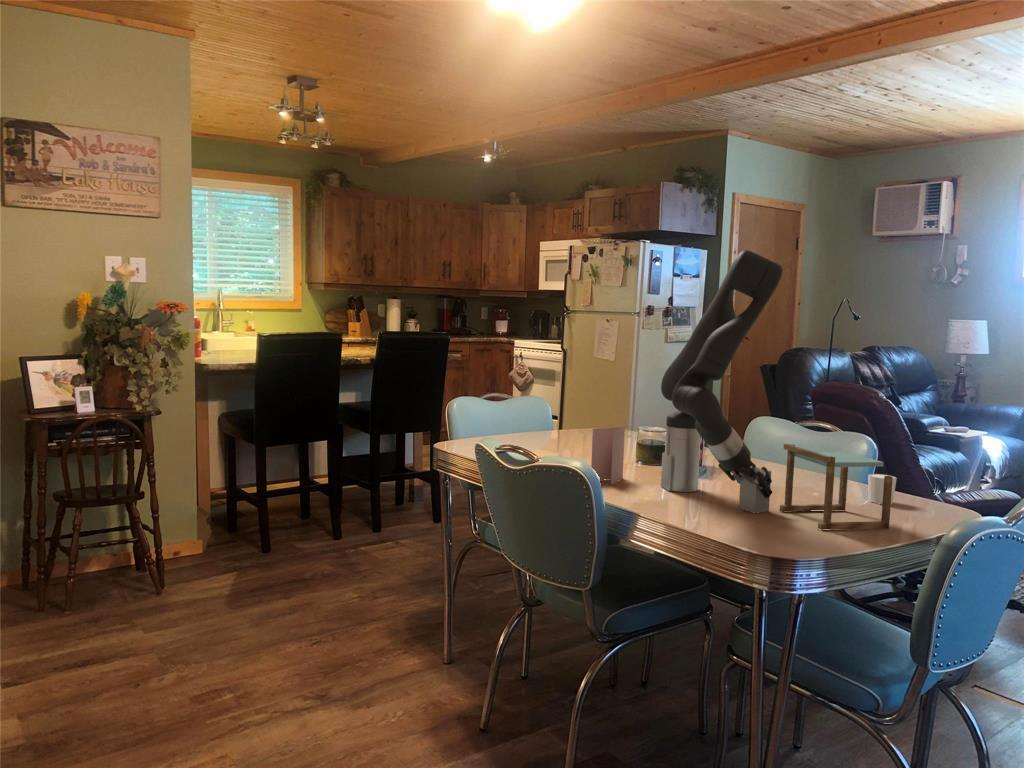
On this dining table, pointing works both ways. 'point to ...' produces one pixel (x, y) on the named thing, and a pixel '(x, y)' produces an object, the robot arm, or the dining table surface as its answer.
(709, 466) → the dining table surface
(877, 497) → the white cup
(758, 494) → the granite block
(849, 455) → the trapdoor
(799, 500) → the dining table surface
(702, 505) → the dining table surface
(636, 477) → the dining table surface
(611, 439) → the greeting card
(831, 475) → the frame
